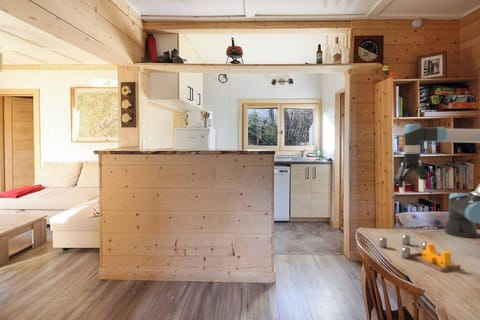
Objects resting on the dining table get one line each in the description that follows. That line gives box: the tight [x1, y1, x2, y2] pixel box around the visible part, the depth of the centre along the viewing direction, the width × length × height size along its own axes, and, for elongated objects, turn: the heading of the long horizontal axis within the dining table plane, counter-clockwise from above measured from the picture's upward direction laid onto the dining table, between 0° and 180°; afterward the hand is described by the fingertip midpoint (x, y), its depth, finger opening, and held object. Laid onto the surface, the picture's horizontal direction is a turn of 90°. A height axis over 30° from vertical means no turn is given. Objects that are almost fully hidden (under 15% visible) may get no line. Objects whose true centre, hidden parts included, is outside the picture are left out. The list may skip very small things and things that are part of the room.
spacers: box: [379, 234, 428, 260], centre depth 147 cm, size 17×18×4 cm
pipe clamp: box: [421, 242, 452, 267], centre depth 131 cm, size 12×4×6 cm, turn 2°
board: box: [410, 252, 461, 273], centre depth 132 cm, size 10×16×2 cm, turn 15°
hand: (411, 192), depth 164 cm, fingers open, 13 cm apart
